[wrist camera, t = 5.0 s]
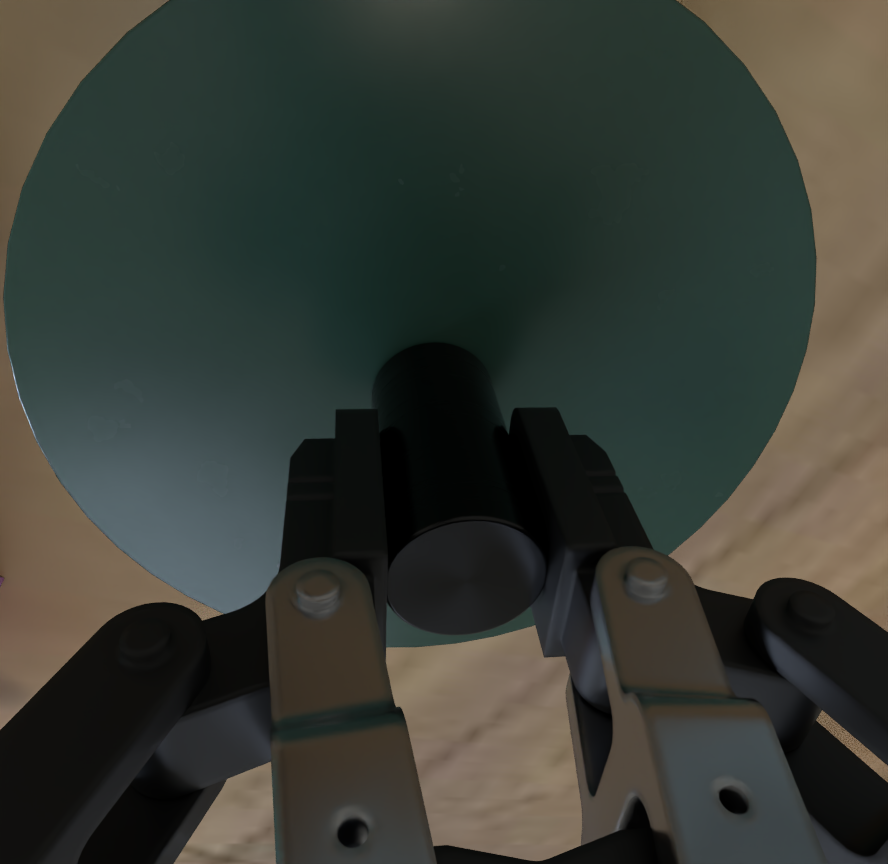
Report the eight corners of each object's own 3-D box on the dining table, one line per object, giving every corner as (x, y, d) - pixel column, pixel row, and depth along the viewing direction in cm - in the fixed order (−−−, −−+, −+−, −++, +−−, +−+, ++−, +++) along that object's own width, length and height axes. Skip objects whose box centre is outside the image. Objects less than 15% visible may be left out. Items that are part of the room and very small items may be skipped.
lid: (-104, -121, 10) (-551, -161, 5) (913, -46, 12) (1325, -18, 7) (115, 625, 19) (32, 883, 14) (683, 599, 21) (791, 818, 16)
